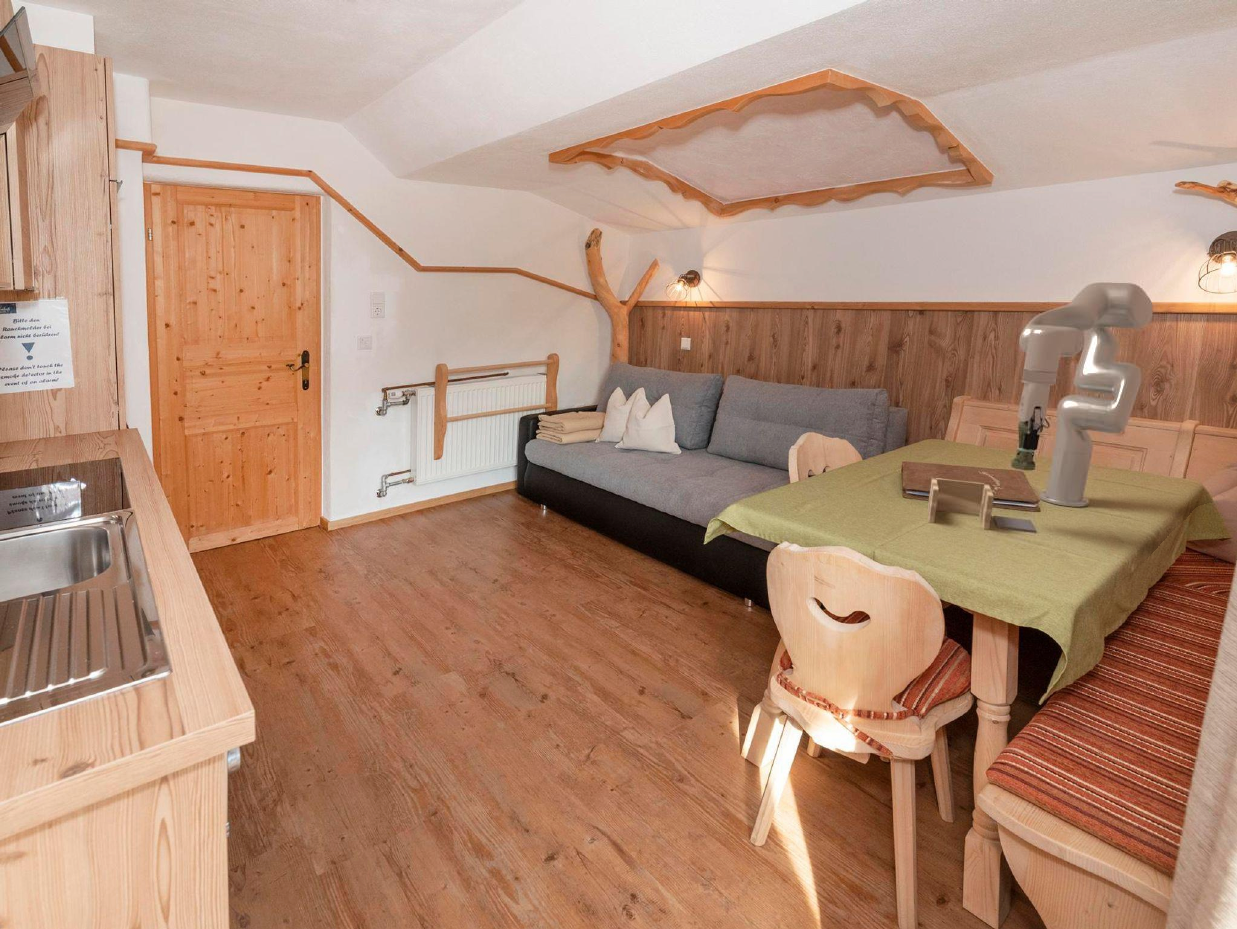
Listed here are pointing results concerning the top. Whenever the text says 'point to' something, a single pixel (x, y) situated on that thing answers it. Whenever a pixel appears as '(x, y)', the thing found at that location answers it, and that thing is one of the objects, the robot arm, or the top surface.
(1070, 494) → the robot arm
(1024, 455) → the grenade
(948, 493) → the light wood u-shaped frame
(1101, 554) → the top surface
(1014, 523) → the coaster
